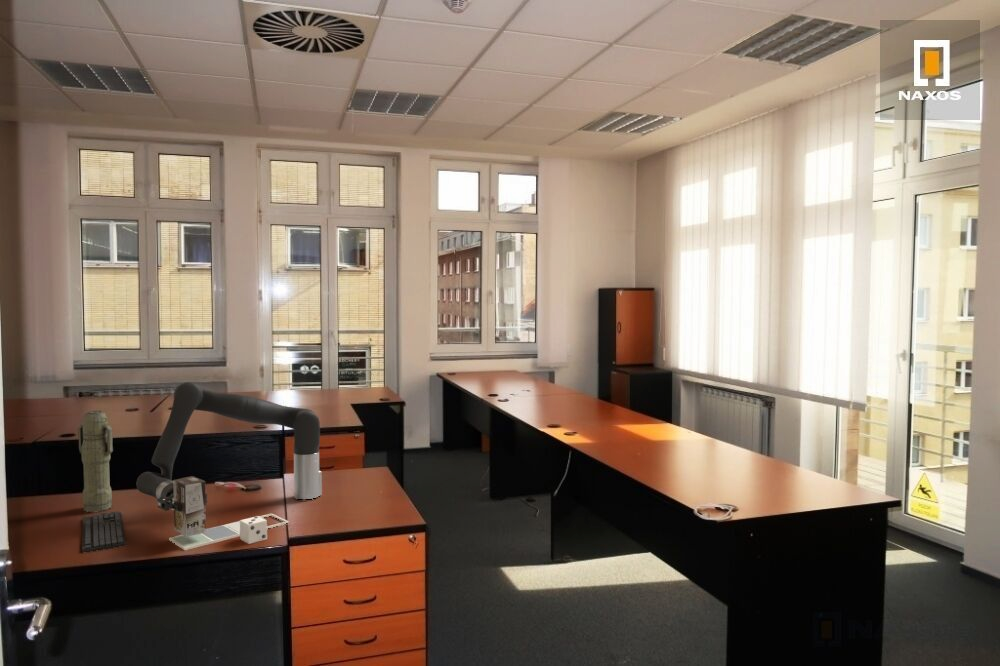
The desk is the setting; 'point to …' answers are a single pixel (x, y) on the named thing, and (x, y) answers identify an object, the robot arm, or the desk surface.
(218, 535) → the board
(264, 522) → the die
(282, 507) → the desk surface
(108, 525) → the keyboard
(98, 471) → the khaki stone statue
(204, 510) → the coffee box
